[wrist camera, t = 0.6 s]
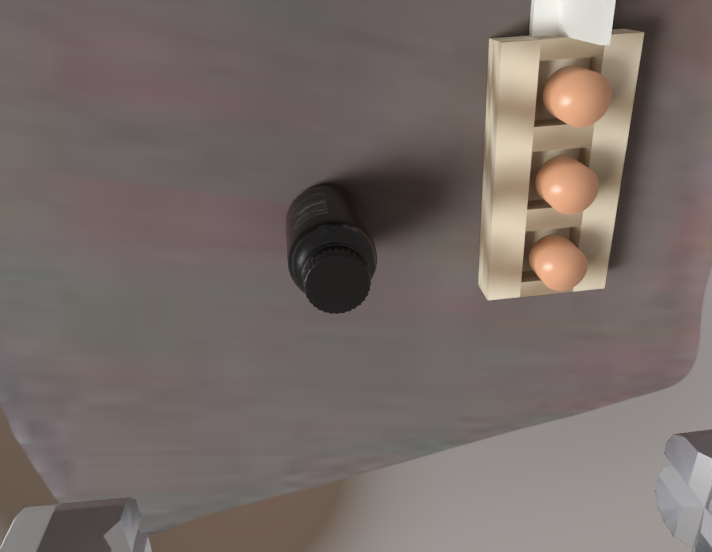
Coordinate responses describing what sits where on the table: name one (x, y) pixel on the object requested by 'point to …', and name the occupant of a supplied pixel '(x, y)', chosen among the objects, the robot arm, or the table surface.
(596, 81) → the button
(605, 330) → the table surface
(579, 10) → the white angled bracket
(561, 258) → the button
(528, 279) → the wooden egg tray
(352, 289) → the supplement bottle
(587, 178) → the button mid
